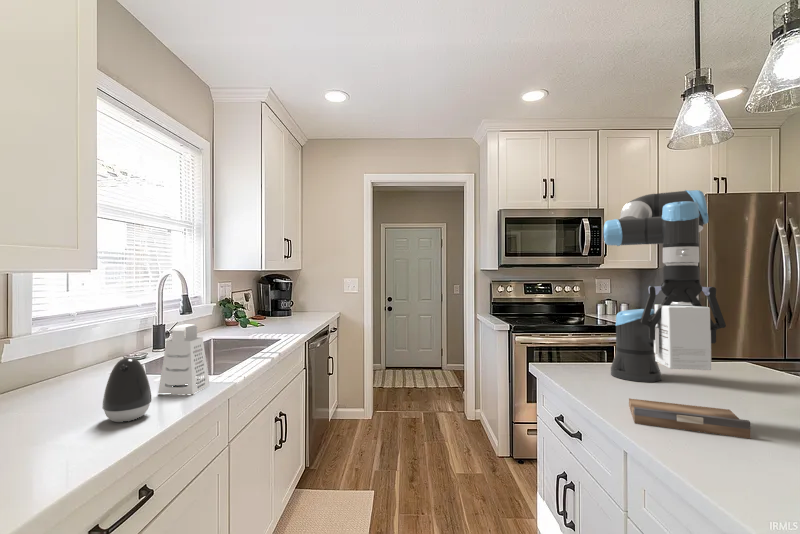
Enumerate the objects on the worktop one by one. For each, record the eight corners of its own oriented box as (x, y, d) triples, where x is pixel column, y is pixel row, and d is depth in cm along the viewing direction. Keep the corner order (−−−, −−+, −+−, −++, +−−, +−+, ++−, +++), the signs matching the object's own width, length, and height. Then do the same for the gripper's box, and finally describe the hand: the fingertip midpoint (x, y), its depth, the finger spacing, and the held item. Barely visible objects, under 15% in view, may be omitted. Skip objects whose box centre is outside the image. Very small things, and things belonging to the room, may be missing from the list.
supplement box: (693, 362, 104) (692, 304, 104) (712, 371, 95) (711, 307, 96) (654, 361, 106) (653, 303, 106) (669, 369, 97) (668, 306, 97)
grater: (209, 385, 132) (210, 323, 132) (192, 395, 121) (192, 328, 121) (177, 385, 132) (178, 323, 132) (157, 395, 121) (158, 327, 122)
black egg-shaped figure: (96, 429, 95) (96, 363, 95) (109, 414, 105) (109, 355, 105) (146, 423, 99) (147, 360, 99) (154, 409, 108) (155, 352, 109)
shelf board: (628, 405, 111) (628, 392, 111) (729, 417, 101) (729, 403, 102) (634, 423, 98) (634, 408, 98) (751, 439, 88) (750, 422, 89)
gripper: (630, 264, 102) (631, 353, 102) (743, 264, 93) (744, 361, 93) (627, 265, 109) (628, 348, 109) (732, 264, 100) (733, 355, 99)
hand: (681, 354), depth 101 cm, fingers closed on supplement box, 10 cm apart
